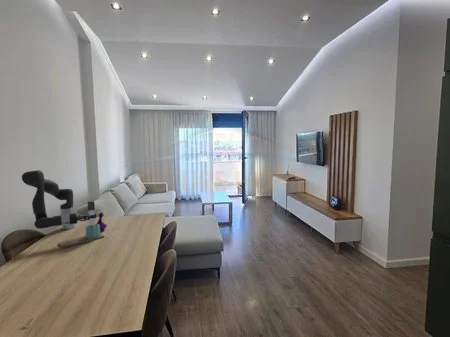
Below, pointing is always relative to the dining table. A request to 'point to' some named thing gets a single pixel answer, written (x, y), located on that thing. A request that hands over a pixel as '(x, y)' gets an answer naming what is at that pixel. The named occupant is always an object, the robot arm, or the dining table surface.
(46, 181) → the robot arm
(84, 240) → the walnut board
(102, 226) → the perfume bottle
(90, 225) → the grey long forked bar
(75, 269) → the dining table surface
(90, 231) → the crock
